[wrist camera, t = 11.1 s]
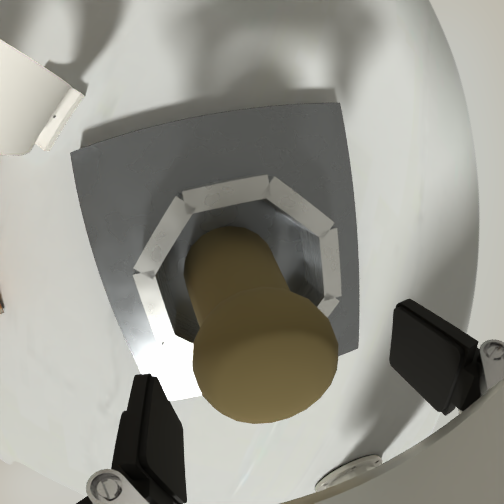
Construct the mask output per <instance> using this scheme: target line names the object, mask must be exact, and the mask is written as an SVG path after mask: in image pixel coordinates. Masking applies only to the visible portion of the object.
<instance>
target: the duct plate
mask: <svg viewBox="0 0 504 504" xmlns="http://www.w3.org/2000/svg"><path fill="white" fill-rule="evenodd" d="M70 155H71V161H72V167H73V173H74V178H75V183H76V188H77V193H78V198H79V202H80V207H81V211H82V215H83V219H84V223H85V227H86V231H87V234H88V238H89V241H90V245H91V248H92V252H93V255H94V258H95V261H96V265H97V268H98V271H99V274H100V277H101V280H102V282H103V285H104V288H105V291H106V294H107V296H108V299H109V302H110V304H111V307H112V309H113V312H114V314H115V317H116V319H117V322H118V324H119V326H120V329H121V331H122V333H123V336H124V338H125V340H126V342H127V345H128V347H129V349H130V351H131V353H132V355H133V357H134V360H135V362H136V364H137V366H138V368H139V370H140V372H141V374H146V373H151V374H152V376H157V377H158V379H159V381H160V383H161V385H162V387H163V389H164V391H165V393H166V395H167V397H168V399H169V401H171V400H177V399H183V398H188V397H194V396H199V395H202V393H201V391H200V389H199V387H198V384H197V382H196V379H195V376H194V373H193V370H192V356H193V344H194V340H195V337H196V335H197V333H198V331H199V329H200V326H199V323H198V321H197V318H196V315H195V312H194V309H193V306H192V303H191V300H190V297H189V294H188V291H187V287H186V283H185V279H184V275H183V273H184V263H185V259H186V257H187V254H188V252H189V250H190V248H191V246H192V245H193V244H194V243H195V242H196V241H197V240H198V239H199V238H200V237H201V236H202V235H204V234H206V233H208V232H210V231H211V230H213V229H216V228H221V227H226V226H235V227H243V228H246V229H248V230H250V231H252V232H255V233H257V234H258V235H259V236H260V237H261V238H262V239H263V240H264V241H265V242H266V243H267V244H268V246H269V248H270V250H271V252H272V254H273V256H274V258H275V260H276V262H277V264H278V266H279V268H280V271H281V273H282V275H283V277H284V279H285V281H286V283H287V285H288V287H289V289H290V291H291V292H293V293H296V294H298V295H300V296H303V297H305V298H308V299H309V300H310V301H311V302H312V303H313V304H314V305H315V306H316V307H317V308H318V309H319V310H320V311H321V312H322V313H323V314H324V315H325V316H326V317H327V318H328V319H329V321H330V324H331V326H332V329H333V331H334V334H335V336H336V339H337V342H338V356H340V355H342V354H345V353H348V352H350V351H353V350H355V349H358V342H359V259H358V240H357V225H356V212H355V201H354V192H353V183H352V174H351V167H350V159H349V152H348V146H347V139H346V133H345V127H344V122H343V116H342V111H341V106H340V103H312V104H293V105H279V106H268V107H258V108H250V109H242V110H235V111H228V112H221V113H215V114H209V115H204V116H198V117H193V118H188V119H183V120H178V121H174V122H170V123H165V124H161V125H157V126H153V127H149V128H145V129H141V130H138V131H134V132H131V133H127V134H124V135H120V136H117V137H114V138H111V139H108V140H105V141H101V142H99V143H96V144H93V145H90V146H87V147H84V148H81V149H79V150H76V151H73V152H71V153H70Z"/></svg>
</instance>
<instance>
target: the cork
mask: <svg viewBox="0 0 504 504" xmlns="http://www.w3.org/2000/svg"><path fill="white" fill-rule="evenodd" d="M183 275H184V279H185V283H186V287H187V291H188V294H189V297H190V300H191V303H192V306H193V309H194V312H195V315H196V318H197V321H198V323H199V326H200V329H199V331H198V333H197V335H196V337H195V340H194V344H193V356H192V370H193V373H194V376H195V379H196V382H197V384H198V387H199V389H200V391H201V393H202V395H203V397H204V398H205V399H206V400H207V401H208V402H209V403H210V404H211V405H212V406H213V407H214V408H215V409H216V410H218V411H219V412H220V413H222V414H223V415H225V416H228V417H230V418H232V419H234V420H236V421H240V422H246V423H252V424H258V423H272V422H276V421H280V420H283V419H287V418H290V417H292V416H294V415H296V414H298V413H300V412H302V411H304V410H306V409H307V408H308V407H310V406H311V405H312V404H313V403H315V402H316V401H317V400H318V399H320V398H321V396H322V395H323V394H324V393H325V391H326V390H327V389H328V387H329V386H330V385H331V383H332V380H333V378H334V375H335V373H336V370H337V364H338V342H337V339H336V336H335V334H334V331H333V329H332V326H331V324H330V321H329V319H328V318H327V317H326V316H325V315H324V314H323V313H322V312H321V311H320V310H319V309H318V308H317V307H316V306H315V305H314V304H313V303H312V302H311V301H310V300H309V299H308V298H305V297H303V296H300V295H298V294H296V293H293V292H291V291H290V289H289V287H288V285H287V283H286V281H285V279H284V277H283V275H282V273H281V271H280V268H279V266H278V264H277V262H276V260H275V258H274V256H273V254H272V252H271V250H270V248H269V246H268V244H267V243H266V242H265V241H264V240H263V239H262V238H261V237H260V236H259V235H258V234H257V233H255V232H252V231H250V230H248V229H246V228H243V227H235V226H226V227H221V228H216V229H213V230H211V231H210V232H208V233H206V234H204V235H202V236H201V237H200V238H199V239H198V240H197V241H196V242H195V243H194V244H193V245H192V246H191V248H190V250H189V252H188V254H187V257H186V259H185V263H184V273H183Z"/></svg>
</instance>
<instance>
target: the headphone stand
mask: <svg viewBox="0 0 504 504" xmlns="http://www.w3.org/2000/svg"><path fill="white" fill-rule="evenodd" d="M84 97H85V96H84V95H83V94H82V93H80V92H79V91H77V90H75V89H74V88H72V87H71V85H69V84H68V83H67V82H65V81H64V80H63V79H61V78H60V77H58V76H57V75H55V74H54V73H52V72H51V71H49V70H48V69H46V68H45V67H43V66H42V65H40V64H39V63H37V62H36V61H34V60H33V59H31V58H30V57H28V56H26V55H25V54H23V53H22V52H20V51H18V50H17V49H15V48H14V47H12V46H10V45H9V44H7V43H5V42H4V41H2V40H0V154H1V155H10V156H19V155H25V154H27V153H29V152H30V151H31V150H32V148H33V146H34V144H36V145H38V146H39V147H40V148H42V149H43V150H44V151H50V150H51V148H52V146H53V144H54V143H55V141H56V139H57V138H58V136H59V134H60V133H61V131H62V129H63V128H64V126H65V125H66V123H67V122H68V120H69V119H70V117H71V116H72V114H73V113H74V111H75V110H76V108H77V107H78V105H79V104H80V102H81V101H82V100H83V98H84Z"/></svg>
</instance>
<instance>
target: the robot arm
mask: <svg viewBox="0 0 504 504" xmlns="http://www.w3.org/2000/svg"><path fill="white" fill-rule="evenodd" d="M477 345H478V341H477V340H475V339H474V338H472V337H470V336H469V335H468V334H466V333H464V332H463V331H461V330H460V329H458V328H457V327H455V326H453V325H452V324H450V323H449V322H447V321H445V320H444V319H442V318H441V317H439V316H437V315H436V314H434V313H433V312H431V311H429V310H428V309H426V308H424V307H423V306H421V305H420V304H418V303H416V302H415V301H413V300H411V299H407V300H405V301H402V302H400V303H398V304H397V305H396V308H395V309H394V313H393V327H392V339H391V349H390V358H389V361H390V364H391V366H392V367H393V368H394V369H395V370H396V371H397V372H398V373H399V374H400V375H401V376H402V377H403V378H404V379H405V380H406V381H407V382H408V383H409V384H410V385H411V386H412V387H413V388H414V389H415V390H416V391H417V392H418V393H419V394H420V395H421V396H422V397H423V398H424V399H425V400H426V401H427V402H428V403H429V404H430V405H431V406H432V407H433V408H434V409H435V410H437V411H438V412H442V413H443V414H444V415H447V414H449V413H450V412H451V411H453V410H454V409H455V407H457V408H458V409H459V415H458V416H457V417H455V418H454V419H453V420H451V421H450V422H449V423H448V424H446V425H445V426H443V427H442V428H440V429H439V430H437V431H436V432H435V433H433V434H432V435H430V436H429V437H427V438H426V439H424V440H423V441H421V442H419V443H418V444H416V445H415V446H413V447H411V448H410V449H408V450H406V451H405V452H403V453H401V454H399V455H398V456H396V457H394V458H392V459H390V460H389V461H387V462H385V463H383V464H382V459H381V458H380V457H379V456H377V455H370V456H366V457H362V458H360V459H357V460H355V461H352V462H350V463H348V464H346V465H344V466H342V467H340V468H338V469H336V470H335V471H333V472H331V473H330V474H329V475H327V476H326V477H324V478H323V479H322V480H321V481H320V482H319V483H318V484H317V485H316V487H315V491H316V493H313V494H310V495H307V496H304V497H301V498H297V499H294V500H291V501H287V502H284V503H280V504H504V343H503V342H502V341H499V340H488V341H485V342H484V343H483V344H482V345H481V347H480V349H478V348H477ZM86 492H87V494H88V496H87V497H85V498H84V499H82V500H81V501H79V502H78V503H76V504H183V503H186V502H187V494H186V480H185V464H184V441H183V427H182V424H181V422H180V420H179V418H178V416H177V414H176V413H175V411H174V409H173V407H172V405H171V403H170V401H169V399H168V397H167V395H166V393H165V391H164V389H163V387H162V385H161V383H160V381H159V379H158V377H157V376H152V374H151V373H146V374H139V375H135V377H134V380H133V385H132V389H131V393H130V398H129V403H128V407H127V411H124V412H123V413H122V415H121V419H120V424H119V429H118V434H117V439H116V444H115V449H114V455H113V461H112V467H111V469H104V470H100V471H98V472H95V473H94V474H93V475H92V476H91V477H90V478H89V480H88V482H87V485H86Z"/></svg>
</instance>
